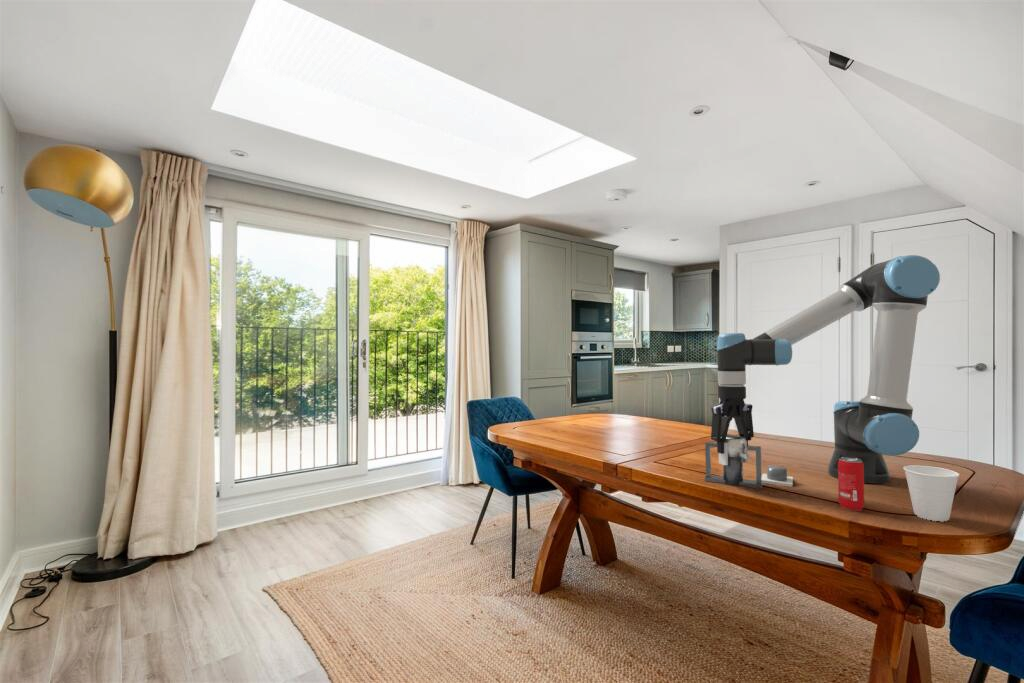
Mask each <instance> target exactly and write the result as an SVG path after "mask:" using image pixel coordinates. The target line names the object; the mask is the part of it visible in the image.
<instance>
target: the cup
mask: <svg viewBox="0 0 1024 683" xmlns="http://www.w3.org/2000/svg"><path fill="white" fill-rule="evenodd" d="M902 469H903V470H904V472H905V478H906V482H907V485H908V487H907V488H908V491H909V495H910V501H911V505H912V509H913V513H914V515H915V516H916V515H917V517H918V518H920V519H922V518H923V519H922V520H926V519H927V521H930V520H932V521H931V522H936V521H940V523H944V521H945V522H947V521H949V520H950V518H951V513H952V507H953V504H954V499H955V498H954V497H955V493H956V489H957V483H958V479H959V477H960V476H961V475H960V473H959V472H956V471H955V470H951V469H947V468H943V467H936V466H929V465H922V464H921V465H920V464H919V465H918V464H912V465H911V464H910V465H904V466H903V467H902Z"/></svg>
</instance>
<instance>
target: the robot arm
mask: <svg viewBox="0 0 1024 683" xmlns="http://www.w3.org/2000/svg"><path fill="white" fill-rule="evenodd" d="M940 280H941V274H940V271H939V268H938V267H937V266H936V264H935V263H934V262H932V261H931V260H930V259H929V258H927V257H924V256H922V255H917V254H916V255H915V254H909V255H903V256H902V255H900V256H897V257H894V258H892V259H889V260H885V261H883V262H879V263H875V264H873V265H871V266H869V267H868V268H866V269H864V270H863V271H861V272H860V273H859V274H857V275H856V276H855V275H854V277H852V278H851V279H849V280H848V281H845V282H844V283H842V284H841V285H840V286H839V287H838V290H837V291H835V292H833V293H832V294H829V295H827V296H826V297H825V298H823V299H821V300H819V301H818V302H816V303H814V304H812V305H810V306H808V307H807V308H804V309H803V310H801V311H800V312H798V313H796V314H794V315H793V316H791V317H789V318H788V319H786V320H784V321H782V322H780V323H779V324H776V325H775V326H773V327H772V328H770V329H768V330H766V331H765V332H763V333H761V334H759V335H758V336H757V335H756V336H755V337H754V338H751V339H748V338H746V336H745V333H742V332H741V333H740V332H739V333H736V332H734V333H732V332H731V333H730V332H729V333H719V335H717V342H716V343H717V344H716V346H717V347H716V354H717V356H716V358H717V384H719V385H718V386H717V397H718V398H719V404H718V405H717V406H716V405H715V406H713V405H712V406H711V413H712V418H711V430H710V431H711V434H710V439H711V440H713V442H714V441H715V442H716V443H717V447H716V449H717V450H716V451H717V453H718V464H720V465H722V466H723V465H728V443H726V442H725V440H726V436H727V434H728V431H729V427H730V424H731V422H732V420H733V419H734V422H735V425H736V426H735V427H736V430H737V433H738V436H741V437H744V438H745V441H746V453H747V454H748V450H747V446H749V442H750V441H752V438H754V436H755V435H754V432H755V431H754V424H753V414H752V412H753V405H752V404H749V403H745V401H744V400H745V399H746V398H747V387H746V386H745V385H746V384H747V379H746V378H747V377H746V375H747V374H746V373H747V372H746V368H747V366H783V365H784V366H785V365H789V364H790V363H791V362H792V359H793V358H792V357H793V347H792V346H793V345H795V344H796V343H798V342H800V341H802V340H804V339H806V338H808V337H810V336H811V335H814V334H815V333H816V332H818V331H821V330H822V329H825V328H826V327H828V326H830V325H831V324H833V323H835V322H837V321H838V320H840V319H843V318H845V317H846V316H848V315H850V314H852V313H853V312H862V311H864V310H866V309H868V308H870V307H873V308H874V309H875V310H876V311H877V313H876V314H877V316H876V323H875V330H874V331H875V332H874V338H873V347H872V348H873V349H872V355H871V362H870V364H871V365H870V373H869V378H868V388H867V394H866V396H864V397H862V398H861V399H860V400H859V401H858V400H857V401H854V400H853V401H851V400H850V401H845V400H843V401H836V402H835V403H834V406H833V413H832V414H833V426H834V427H833V429H834V432H833V434H834V450H833V453H832V455H831V458H830V460H829V463H828V466H827V467H828V468H827V469H828V470H827V471H828V475H829V476H832V477H834V478H836V479H838V461H839V458H842V457H848V458H856V459H860V460H862V463H863V464H864V484H886V483H889V482H891V474H890V471H889V467H888V465H887V463H886V461H885V458H884V455H886V456H893V457H894V456H900V455H904V454H906V453H908V452H910V451H911V450H913V448H915V447H916V445H917V444H918V442H919V439H920V428H919V427H918V425H917V424H916V422H915V420H913V411H914V407H913V406H911V404H910V403H909V402H908V400H907V399H908V391H909V390H908V389H909V386H910V385H909V383H910V378H911V369H912V368H911V367H912V363H913V354H914V353H913V352H914V346H915V340H916V332H917V331H916V329H917V323H918V322H917V321H918V315H919V313H920V312H922V311H923V310H924V309H926V308H927V304H928V296H929V295H931V294H933V292H934V291H935V290H936V289H937V288H938V286H939V284H940V282H941V281H940ZM721 437H722V438H721ZM744 463H745V464H747V463H748V459H745V458H743V464H744Z"/></svg>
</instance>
